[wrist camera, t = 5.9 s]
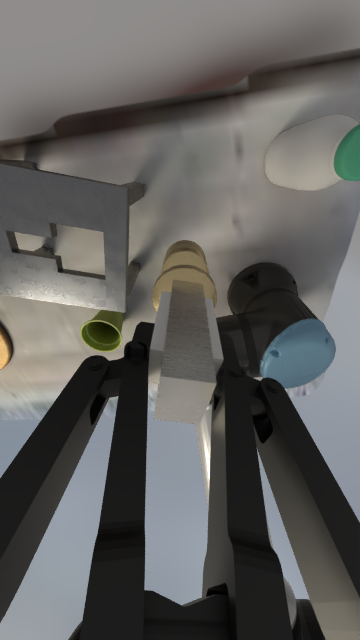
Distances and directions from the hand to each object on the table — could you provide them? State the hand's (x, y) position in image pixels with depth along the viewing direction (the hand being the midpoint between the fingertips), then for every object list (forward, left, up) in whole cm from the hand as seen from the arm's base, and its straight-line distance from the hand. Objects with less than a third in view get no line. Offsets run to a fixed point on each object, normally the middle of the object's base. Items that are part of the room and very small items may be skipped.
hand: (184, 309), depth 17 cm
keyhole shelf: (+19, +3, -31) cm, 36 cm away
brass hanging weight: (0, 0, -11) cm, 11 cm away
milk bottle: (-15, -13, -31) cm, 37 cm away
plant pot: (+15, +25, -31) cm, 43 cm away
